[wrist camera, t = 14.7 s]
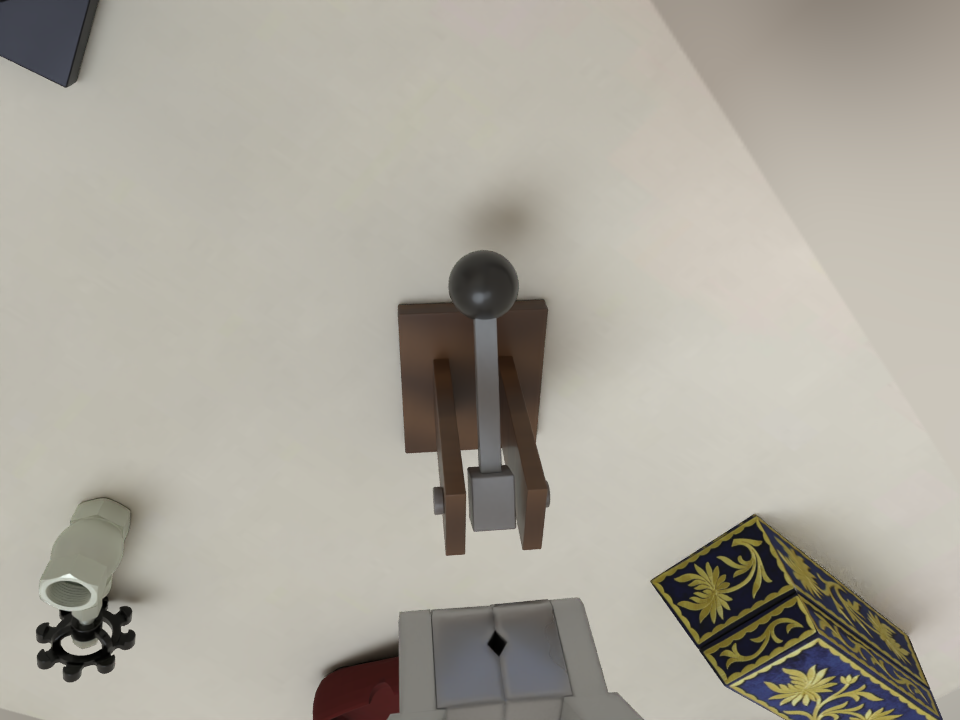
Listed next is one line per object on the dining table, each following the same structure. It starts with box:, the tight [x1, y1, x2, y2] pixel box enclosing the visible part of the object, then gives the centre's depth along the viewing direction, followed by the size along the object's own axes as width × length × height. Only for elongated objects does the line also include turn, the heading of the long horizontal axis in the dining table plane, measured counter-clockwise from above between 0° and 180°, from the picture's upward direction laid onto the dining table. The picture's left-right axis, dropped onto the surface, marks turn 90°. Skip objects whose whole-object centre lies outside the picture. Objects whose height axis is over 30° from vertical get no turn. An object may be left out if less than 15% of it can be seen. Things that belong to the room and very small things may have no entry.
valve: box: [36, 498, 136, 682], centre depth 47 cm, size 7×7×12 cm
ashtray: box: [313, 656, 400, 720], centre depth 61 cm, size 18×16×5 cm
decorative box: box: [650, 515, 943, 720], centre depth 60 cm, size 11×30×9 cm, turn 46°
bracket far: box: [398, 300, 550, 556], centre depth 39 cm, size 11×9×13 cm
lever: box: [448, 250, 519, 532], centre depth 35 cm, size 14×4×4 cm
